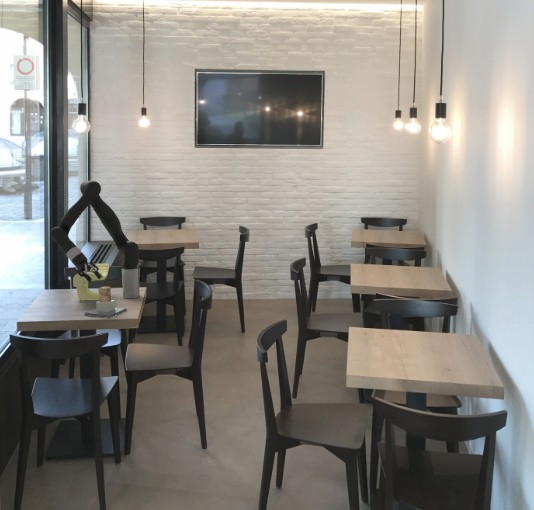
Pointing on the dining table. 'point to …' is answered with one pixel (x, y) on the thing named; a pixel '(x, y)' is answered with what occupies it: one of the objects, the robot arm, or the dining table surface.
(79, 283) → the slatted curved stool
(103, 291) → the oak block
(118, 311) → the tower board
